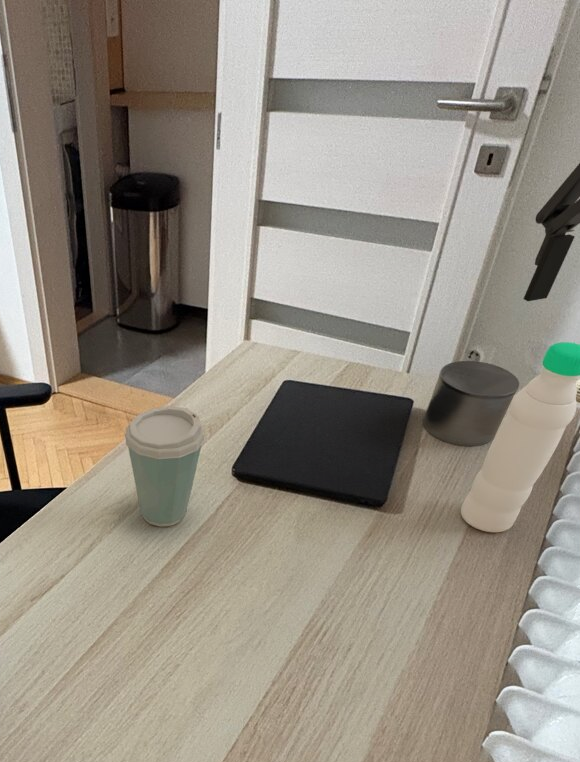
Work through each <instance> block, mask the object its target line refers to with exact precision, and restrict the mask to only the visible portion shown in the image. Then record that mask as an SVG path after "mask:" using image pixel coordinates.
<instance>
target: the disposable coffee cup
mask: <svg viewBox="0 0 580 762" xmlns="http://www.w3.org/2000/svg"><path fill="white" fill-rule="evenodd" d="M124 437H125V445H126V446H127V448H128V453H129V458H130V464H131V468H132V474H133V479H134V485H135V489H136V495H137V498H138V504H139V509H140V515H141V516H142V518H143V519H144V520H145V521H146V522H147V523H148V524H150V525H153V526H155V527H172V526H174V525H176V524H179V523H181V521H182V520H183V518H184V516H185V514H186V513H187V512H188V511H187V510H188V507H189V502H190V498H191V493H192V489H193V486H194V479H195V475H196V472H197V466H198V463H199V458H200V453H201V450H202V445H203V444H204V442H205V441H206V439H205V431H204V429H203V425H202V423H201V420H200V416H198V415H197V414H196V413H195V412H193V411H192V410H191V409H189V408H187V407H182V406H181V407H180V406H174V405H168V406H160V407H153V408H150V409H148V410H146V411H144V412H141V413H139V414H137V415H136V416H134V418H133V420H131V422H130V423H129V424H128V425H127V426H126V427H125V433H124Z"/></svg>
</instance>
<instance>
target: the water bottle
mask: <svg viewBox="0 0 580 762" xmlns="http://www.w3.org/2000/svg"><path fill="white" fill-rule="evenodd" d="M541 362H542V363H541V366H540V368H541V372H540V373H539V374H538V375H537V376H535V377H534V378H532V379H531V380H530V381H529V382H528V384H527V385H525V386H523V388H521V389H520V390H518V391H517V392H516V393H515V395H514V397H513V399H512V401H511V403H510V405H509V410H508V411H507V412H506V414H505V416H504V418H503V420H502V422H501V424H500V427H499V429H498V431H497V433H496V435H495V437H494V439H493V440H492V441H491V444H490V446H489V448H488V451H487V453H486V456H485V458H484V460H483V463H482V466H481V469H480V470H479V471H478V473H477V474H476V476H475V478H474V480H473V482H472V485H471V489H470V490H469V492H468V493H467V495H466V497H465V499H464V500H463V502H462V504H461V507H460V514H461V517H462V519H463V521H465V523H467V524H468V525H469V526H471V527H473V528H474V529H476V530H479V531H482V532H486V533H502V532H505V531H508V530H509V529H511V528H512V526H513V525H514V524H515V522H516V520H517V518H518V516H519V515H520V512H521V509H522V507H523V505H524V504H525V503H526V502H527V500H528V498H529V497H530V495H531V493H532V490H533V487H534V485H535V483H536V482H537V480H538V479H539V478H540V476H541V475H542V474H543V471H544V470H545V468H546V466H547V465H548V463H549V461H550V459H551V458H552V456H553V455H554V453H555V450H556V449H557V448H558V445H559V443H560V441H561V439H562V437H563V435H564V432H565V431H566V428H567V426H568V425H569V424H570V423H571V422H572V421H573V419H574V417H575V415H576V413H577V398H576V397H577V394H578V387H577V380H578V379H580V344H579V343H576V342H568V341H564V342H563V341H562V342H556V343H553V344H552V345H550V346H549V347H548V348H547V350H546V351H545V353H544V356H543V358H542V361H541Z"/></svg>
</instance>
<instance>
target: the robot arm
mask: <svg viewBox="0 0 580 762" xmlns="http://www.w3.org/2000/svg"><path fill="white" fill-rule="evenodd" d="M535 223H536V224H539V225H542V227H543V228H544V234H545V236H544V238H543V241H542V243H541V245H540V247H539V250H538V252H537V255H536V257H535V260H534V265H535V266H536V268H535V271H534V273H533V275H532V278H531V280H530V283H529V285H528V287H527V290H526V291H525V293H524V296H523V300H524V301H526V302H533V301H537V300H543V299H547V298H548V297H549V294H550V292H551V289H552V288H553V285H554V283H555V281H556V279H557V276H558V275H559V273H560V270H561V268H562V266H563V264H564V262H565V259H566V257H567V255H568V252H569V250H570V248H571V246H572V244H573V241H574V239H575V235H573V234H569V233H571V232H575V229H574V228H576V227H577V226H579V224H580V162H579V163H578V164H577V166H576V167H575V168H574V169H573V170H572V172H571V173H570V174H568V175H567V177H566V179H565V180H564V181H563V182H562V184H561V185H559V187H558V189H557V190H556V191H555V192H554V193H553V194H552V195H551V196H550V198H549V199H548V200H547V201H546V203H545V204H544V205H543V206H542V207H541V208H540V210H539V211H538V212H537V214H536V216H535ZM567 233H568V234H567Z"/></svg>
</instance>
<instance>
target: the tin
mask: <svg viewBox="0 0 580 762" xmlns="http://www.w3.org/2000/svg"><path fill="white" fill-rule="evenodd" d="M519 387H520V381H519V379H518V378H517V377H516V375H514V373H512V372H510V370H507V369H505V368H503V367H501V366H498V365H495V364H492V363H488V362H484V361H477V360H476V361H475V360H457V361H453V362H449V363H447V364H444V365H443V366H442V368H440V370H439V374H438V378H437V381H436V383H435V386H434V389H433V392H432V395H431V397H430V400H429V402H428V404H427V408H426V411H425V414H424V416H423V419H422V425H423V428H424V429H425V430H426V432H427V433H428V434H430V435H431V436H432V437H434V438H436V439H437V440H440V441H442V442H445V443H448V444H452V445H456V446H463V447H464V446H465V447H477V446H478V447H479V446H484V445H487V444H488V443H490V442H493V440H494V437H495V435H496V433H497V431H498V429H499V427H500V425H501V424H502V422H503V420H504V418H505V416H506V415H507V413H508V411H509V410H508V409H509V408H510V404H511V401H512V399H513V398H514V396H515V395H516V394H517V393H518V391H519V389H520V388H519Z"/></svg>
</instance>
